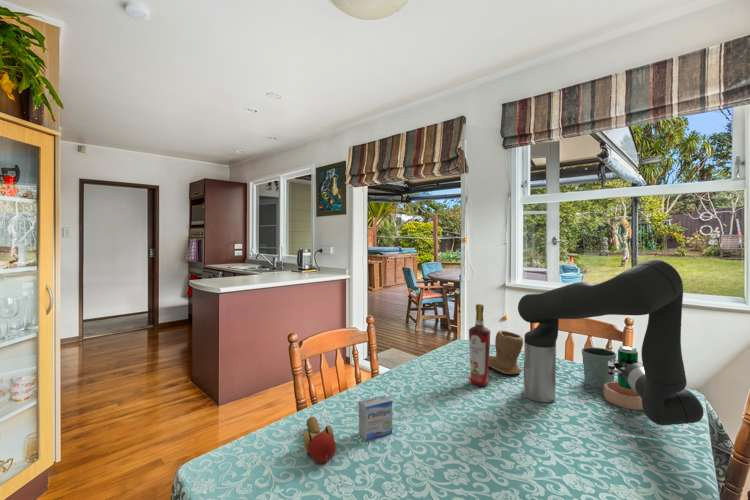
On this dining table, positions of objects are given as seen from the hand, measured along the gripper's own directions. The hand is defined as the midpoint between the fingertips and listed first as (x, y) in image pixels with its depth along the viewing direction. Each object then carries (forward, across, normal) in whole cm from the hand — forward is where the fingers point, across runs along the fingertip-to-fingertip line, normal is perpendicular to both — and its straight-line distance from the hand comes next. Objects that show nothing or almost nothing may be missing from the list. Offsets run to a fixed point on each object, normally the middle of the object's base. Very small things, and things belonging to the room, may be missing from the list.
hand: (625, 362), depth 110 cm
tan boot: (+15, +36, +12) cm, 41 cm away
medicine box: (-46, +67, +13) cm, 82 cm away
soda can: (-3, 0, +7) cm, 7 cm away
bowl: (-2, 0, +11) cm, 12 cm away
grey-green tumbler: (+10, +5, +12) cm, 16 cm away
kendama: (-56, +79, +13) cm, 98 cm away
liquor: (-3, +44, +12) cm, 46 cm away
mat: (-2, 0, +12) cm, 12 cm away
